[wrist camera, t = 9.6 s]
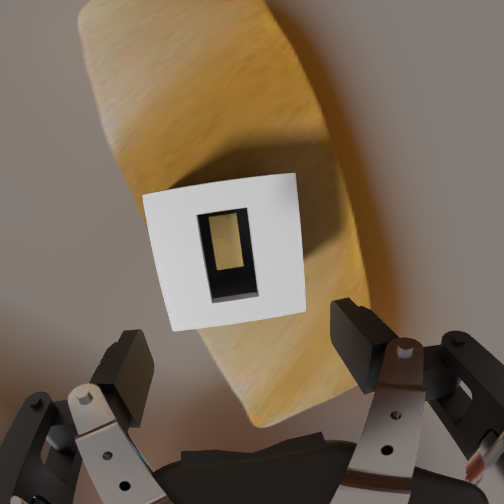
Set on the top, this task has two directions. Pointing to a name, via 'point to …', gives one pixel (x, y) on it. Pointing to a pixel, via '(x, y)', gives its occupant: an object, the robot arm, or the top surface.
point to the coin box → (252, 246)
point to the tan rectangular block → (225, 239)
